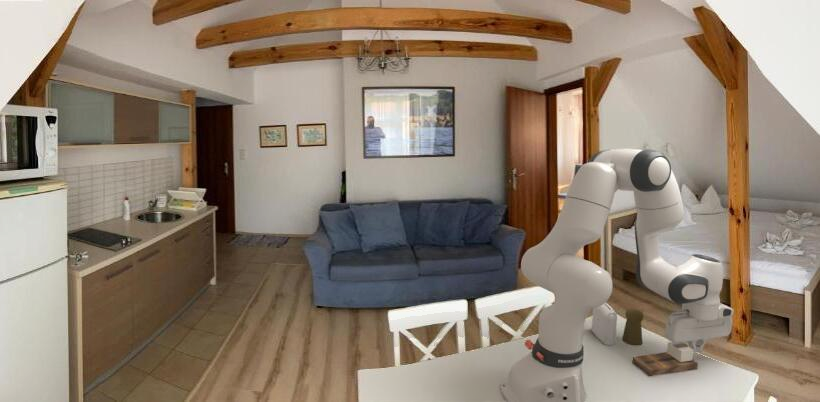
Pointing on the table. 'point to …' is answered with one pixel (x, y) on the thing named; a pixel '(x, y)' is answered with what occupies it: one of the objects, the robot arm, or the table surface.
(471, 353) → the table surface
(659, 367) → the slider board
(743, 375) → the table surface
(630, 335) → the cork
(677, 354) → the fader tab
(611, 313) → the photo printer
